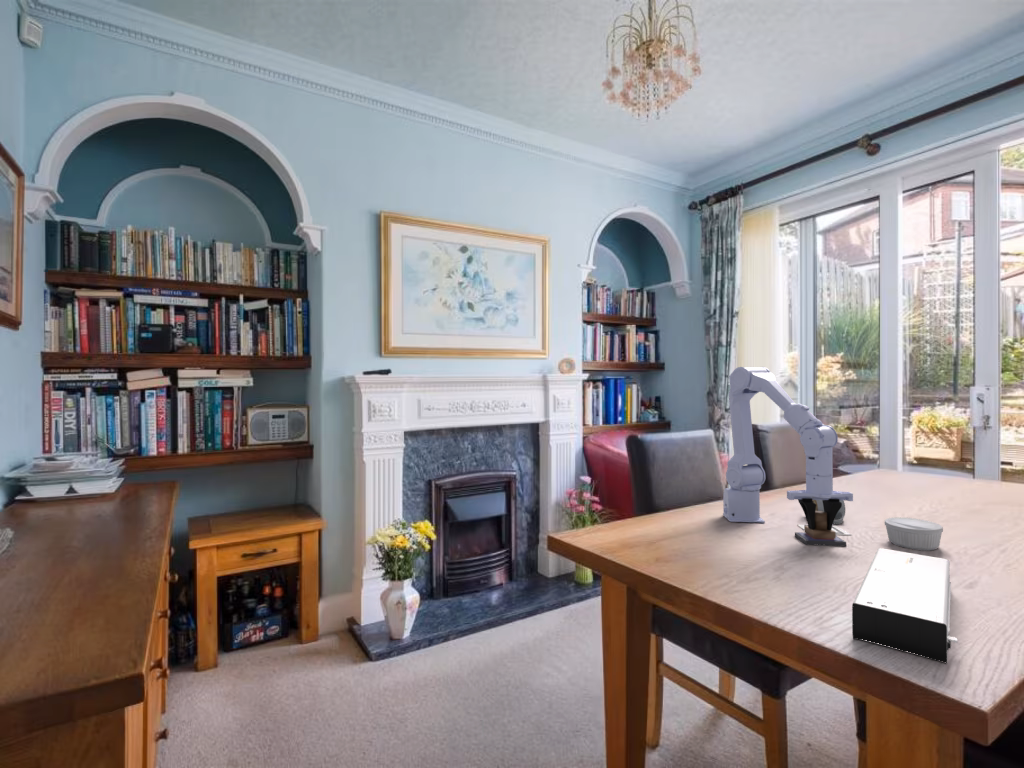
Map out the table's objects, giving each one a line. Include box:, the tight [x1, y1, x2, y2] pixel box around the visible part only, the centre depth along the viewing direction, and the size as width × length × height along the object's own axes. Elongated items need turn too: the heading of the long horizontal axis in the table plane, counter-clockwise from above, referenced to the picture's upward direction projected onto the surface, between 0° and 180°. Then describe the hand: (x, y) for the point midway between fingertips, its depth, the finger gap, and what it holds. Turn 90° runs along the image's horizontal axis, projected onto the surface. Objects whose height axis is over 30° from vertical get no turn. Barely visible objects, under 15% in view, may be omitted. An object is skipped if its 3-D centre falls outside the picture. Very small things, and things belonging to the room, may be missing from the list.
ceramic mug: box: [812, 500, 846, 525], centre depth 147 cm, size 11×8×8 cm
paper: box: [797, 524, 852, 536], centre depth 136 cm, size 10×8×1 cm
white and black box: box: [851, 547, 958, 664], centre depth 88 cm, size 34×12×6 cm, turn 139°
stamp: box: [803, 511, 837, 539], centre depth 127 cm, size 5×5×6 cm
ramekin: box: [884, 516, 944, 551], centre depth 124 cm, size 11×11×5 cm
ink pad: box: [794, 531, 847, 547], centre depth 127 cm, size 9×7×1 cm
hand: (819, 528), depth 127 cm, fingers closed on stamp, 3 cm apart
